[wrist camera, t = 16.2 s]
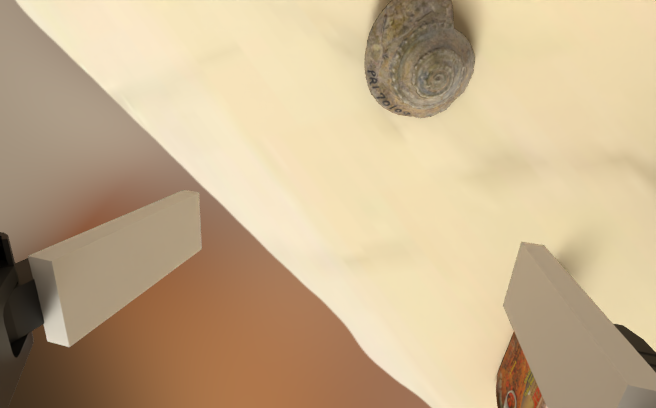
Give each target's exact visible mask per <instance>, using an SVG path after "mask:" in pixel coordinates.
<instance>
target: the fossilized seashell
mask: <svg viewBox="0 0 656 408" xmlns="http://www.w3.org/2000/svg"><path fill="white" fill-rule="evenodd" d="M452 9H453V5H452V2H451V0H392V1H391V2H390V3H389V4H388V5H387V6H386V8H384V9H383V11H382V13H381V14H380V15H379V16H378V18H377V19H376V21H375V23H374V25H373V27H372V29H371V31H370V33H369V38H368V40H367V48H366V52H365V74H366V80H367V83H368V87H369V90H370V92H371V94H372V95H373V96H374V98H375V99H376V101H377V102H378V103H379V104H380V105H381V106H382V107H384V108H385V109H387V110H389V111H391V112H392V113H395V114H398V115H404V116H414V117H418V118H425V117H431V116H433V115H435V114H437V113H439V112H442V111H444V110H446V109H447V108H448V107H449V106H450V104H451V103H452V102H453V101H454V100H455V99H456V98H457V97H458V96H460V95H461V94H462V93H463V92H464V91H465V89H466V87H467V86H468V83H469V81H470V79H471V76H472V74H473V71H474V69H473V68H474V63H475V55H474V52H473V49H472V46H471V44H470V42H469V41H468V39H467V38H466V36H464V35H463V34H462V33H461V32H459V31H458V30H457V29H455V28H454V22H453V10H452Z"/></svg>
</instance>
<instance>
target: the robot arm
mask: <svg viewBox="0 0 656 408" xmlns="http://www.w3.org/2000/svg"><path fill="white" fill-rule="evenodd" d="M201 249H202V246H201V226H200V203H199V192H192V191H186V190H182V191H180V192H178V193H175V194H173V195H171V196H168V197H166V198H164V199H161V200H159V201H156V202H154V203H152V204H149V205H147V206H145V207H142V208H140V209H138V210H135V211H133V212H131V213H128V214H126V215H123V216H121V217H119V218H116V219H114V220H112V221H109V222H107V223H105V224H102V225H100V226H97V227H95V228H93V229H91V230H88V231H86V232H84V233H81V234H79V235H76V236H74V237H72V238H69V239H67V240H64V241H62V242H60V243H57V244H55V245H53V246H50V247H48V248H46V249H43V250H41V251H39V252H36V253H34V254H31V255H29V256H28V258H27V259H25V260H23V261H20V262H18V263H15V262H14V258H13V254H12V250H11V246H10V241H9V237H8V235H7V234H5V233H1V232H0V408H8V406H9V404H10V401H11V399H12V396H13V394H14V391H15V388H16V386H17V383H18V381H19V378H20V375H21V373H22V371H23V368H24V366H25V363H26V361H27V358H28V355H29V353H30V350H31V348H32V345H33V334H32V331H33V330H34V329H35V328H37V327H39V326H41V325H42V324H44V328H45V332H46V337H47V341H49V342H53V343H57V344H60V345H64V346H67V347H70V346H72V345H73V344H74V343H76V342H77V341H78V340H80V339H81V338H82V337H84V336H85V335H86V334H88V333H89V332H90V331H92V330H93V329H94V328H96V327H97V326H99V325H100V324H101V323H102V322H104V321H105V320H107V319H108V318H109V317H111V316H112V315H113V314H115V313H116V312H117V311H119V310H120V309H121V308H123V307H124V306H126V305H127V304H128V303H130V302H131V301H132V300H134V299H135V298H136V297H138V296H139V295H140V294H142V293H143V292H144V291H146V290H147V289H148V288H150V287H151V286H152V285H154V284H155V283H156V282H158V281H159V280H161V279H162V278H163V277H165V276H166V275H167V274H169V273H170V272H171V271H173V270H174V269H175V268H177V267H178V266H179V265H181V264H182V263H183V262H185V261H186V260H187V259H189V258H190V257H191V256H193V255H194V254H195V253H197V252H198V251H200V250H201ZM503 307H504V309H505V311H506V314H507V316H508V318H509V321H510V323H511V325H512V328H513V330H514V332H515V334H516V337H517V339H518V341H519V344H520V346H521V348H522V350H523V353H524V355H525V357H526V360H527V362H528V364H529V367H530V369H531V371H532V373H533V376H534V378H535V380H536V383H537V385H538V387H539V390H540V392H541V394H542V396H543V399H544V401H545V403H546V406H547V408H656V352H655V351H654V350H653V349H652V348H651V347H650V346H649V345H648V344H647V343H646V342H645V341H644V340H643V339H642V338H640V337H639V336H637V335H636V334H635V333H633V332H632V331H630V330H629V329H627V328H626V327H624V326H623V325H618V324H613V323H612V322H611V321H610V320H609V319H608V318H607V316H606V315H605V314H604V313H603V312H602V311H601V310H600V309H599V307H598V306H597V305H596V304H595V303H594V302H593V301H592V299H591V298H590V297H589V296H588V295H587V294H586V293H585V291H584V290H583V289H582V288H581V287H580V286H579V285H578V283H577V282H576V281H575V280H574V279H573V278H572V277H571V275H570V274H569V273H568V272H567V271H566V270H565V269H564V268H563V266H562V265H561V264H560V263H559V262H558V261H557V260H556V258H555V257H554V256H553V255H552V254H551V253H550V252H549V250H548V249H547V248H546V247H545V246H544V245H539V244H532V243H526V242H521V244H520V248H519V251H518V255H517V258H516V262H515V265H514V269H513V272H512V276H511V279H510V283H509V286H508V290H507V293H506V297H505V300H504V304H503Z"/></svg>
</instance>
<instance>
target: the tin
mask: <svg viewBox="0 0 656 408" xmlns="http://www.w3.org/2000/svg"><path fill="white" fill-rule="evenodd" d="M496 397H497V406H498V408H547V406H546V403H545V401H544V399H543V396H542V394H541V392H540V390H539V387H538V385H537V383H536V380H535V378H534V376H533V373H532V371H531V369H530V367H529V364H528V362H527V360H526V357H525V355H524V353H523V350H522V348H521V346H520V344H519V341H518V339H517V337H516V334H515V332H514V333H513V336H512V338H511V341H510V343H509V346H508V348H507V351H506V353H505V356H504V358H503V361H502V363H501V366H500V369H499V372H498V376H497V384H496Z"/></svg>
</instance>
